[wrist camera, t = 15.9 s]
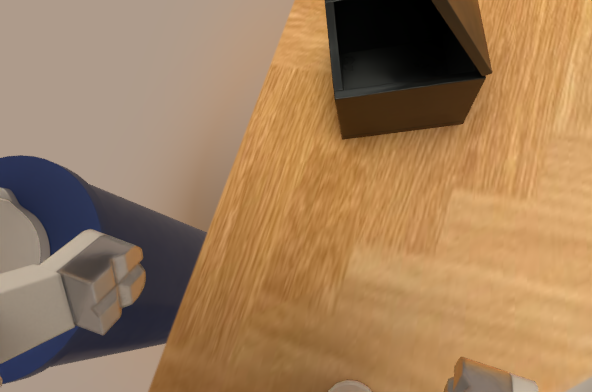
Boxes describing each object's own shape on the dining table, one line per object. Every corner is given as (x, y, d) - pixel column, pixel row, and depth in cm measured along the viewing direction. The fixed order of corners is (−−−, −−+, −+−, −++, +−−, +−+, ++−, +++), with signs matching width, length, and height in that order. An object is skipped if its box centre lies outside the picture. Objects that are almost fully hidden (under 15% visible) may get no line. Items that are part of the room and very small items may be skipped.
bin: (342, 139, 47) (334, 99, 38) (333, 53, 50) (324, -5, 41) (462, 124, 46) (486, 77, 36) (447, 34, 48) (464, -30, 39)
